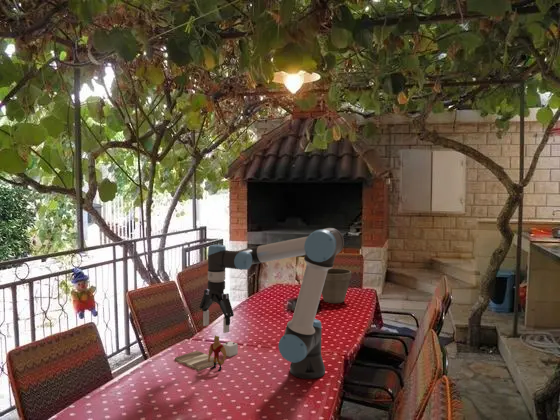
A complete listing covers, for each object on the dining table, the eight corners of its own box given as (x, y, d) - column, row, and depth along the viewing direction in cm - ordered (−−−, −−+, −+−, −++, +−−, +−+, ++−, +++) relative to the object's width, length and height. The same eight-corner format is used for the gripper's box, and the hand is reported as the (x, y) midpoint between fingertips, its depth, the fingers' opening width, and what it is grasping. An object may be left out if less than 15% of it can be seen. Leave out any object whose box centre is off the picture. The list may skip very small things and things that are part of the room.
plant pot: (311, 298, 325) (311, 268, 324) (341, 295, 332) (342, 267, 331) (324, 306, 301) (324, 274, 300) (357, 304, 308) (357, 273, 307)
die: (237, 354, 212) (237, 342, 212) (229, 356, 209) (229, 345, 208) (230, 351, 216) (230, 340, 216) (222, 354, 212) (222, 342, 212)
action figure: (205, 368, 195) (205, 334, 194) (210, 365, 198) (210, 332, 198) (222, 372, 190) (222, 338, 190) (227, 369, 194) (227, 336, 193)
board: (221, 362, 202) (221, 359, 202) (198, 371, 192) (198, 368, 192) (197, 352, 214) (197, 350, 214) (174, 360, 204) (174, 357, 204)
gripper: (191, 277, 198) (191, 324, 199) (229, 286, 182) (228, 337, 183) (205, 275, 204) (204, 320, 205) (242, 283, 187) (241, 333, 188)
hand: (215, 328), depth 194 cm, fingers open, 13 cm apart
